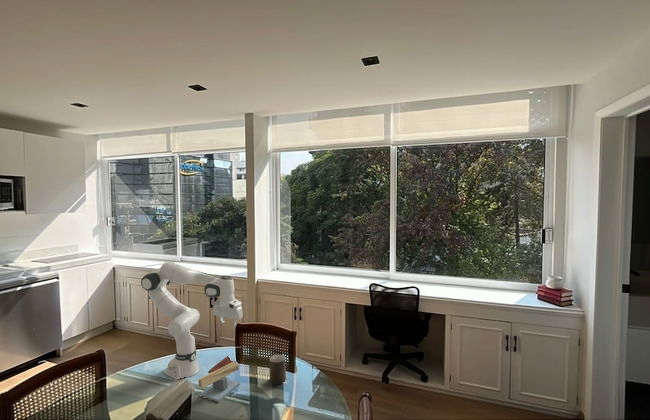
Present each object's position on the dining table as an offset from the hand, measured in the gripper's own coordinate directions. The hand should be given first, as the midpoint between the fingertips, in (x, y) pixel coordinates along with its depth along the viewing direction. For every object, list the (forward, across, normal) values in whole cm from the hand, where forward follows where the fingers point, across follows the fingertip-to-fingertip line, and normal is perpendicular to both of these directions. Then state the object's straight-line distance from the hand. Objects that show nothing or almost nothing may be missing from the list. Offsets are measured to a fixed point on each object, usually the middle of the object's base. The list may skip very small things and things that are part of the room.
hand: (228, 324), depth 209 cm
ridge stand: (+34, +3, -13) cm, 37 cm away
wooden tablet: (+35, -15, +12) cm, 40 cm away
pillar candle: (+34, +29, +10) cm, 46 cm away
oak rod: (+26, +3, -13) cm, 30 cm away
